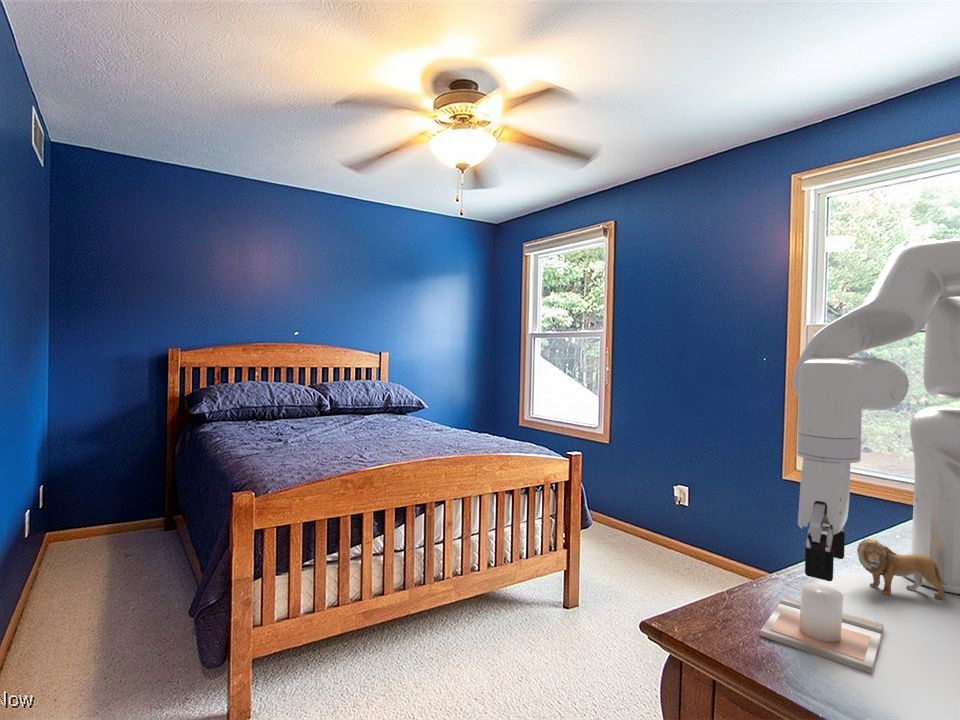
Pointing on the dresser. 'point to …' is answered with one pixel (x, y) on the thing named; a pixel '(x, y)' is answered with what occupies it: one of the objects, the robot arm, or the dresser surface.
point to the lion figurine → (898, 567)
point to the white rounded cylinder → (821, 612)
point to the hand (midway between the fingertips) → (825, 566)
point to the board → (851, 650)
